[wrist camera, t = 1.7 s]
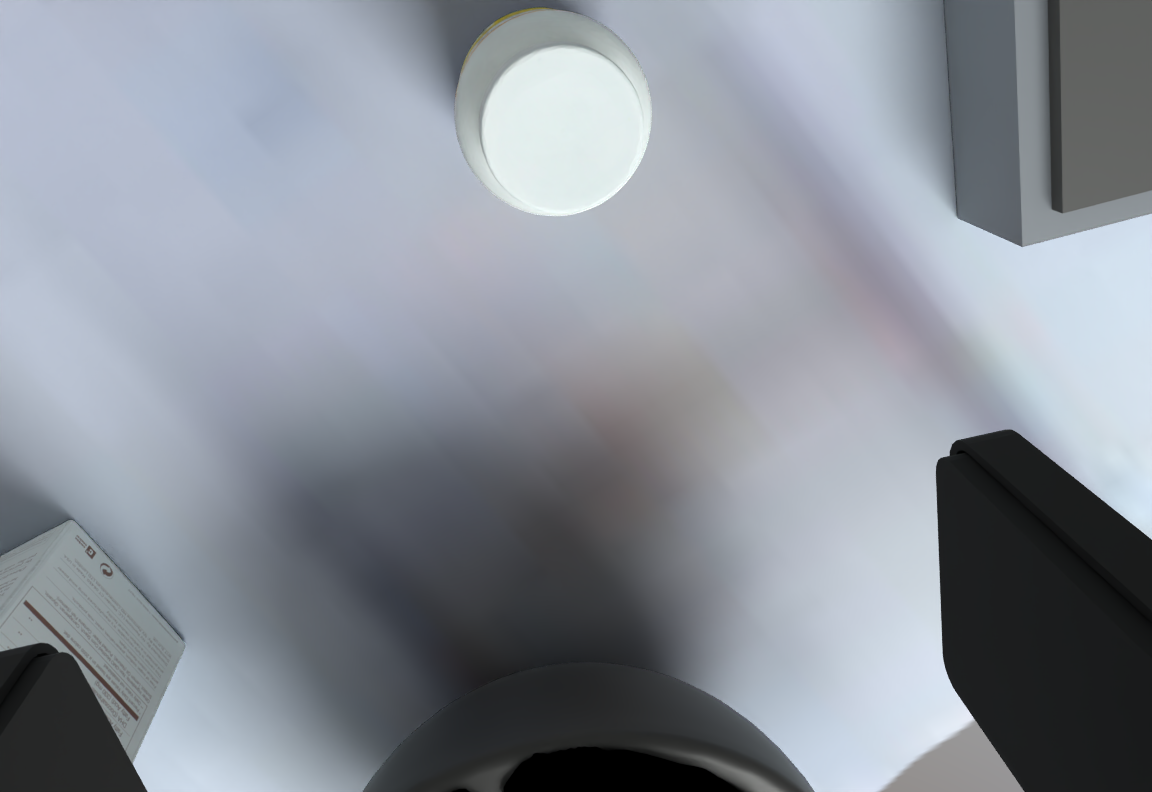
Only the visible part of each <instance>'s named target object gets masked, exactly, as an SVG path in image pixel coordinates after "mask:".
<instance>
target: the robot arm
mask: <svg viewBox="0 0 1152 792" xmlns="http://www.w3.org/2000/svg"><path fill="white" fill-rule="evenodd" d="M936 486H937V513H938V539H939V566H940V593H941V620H942V646H943V660H944V664H945V668H946V671H947V674H948V677H949V679H950V682H951V684H952V686H953V688H954V689H955V691H956V693H957V694H958V696H959V697H960V698H961V700H962V701H963V703H964V704H965V706H966V707H967V709H968V710H969V712H970V713H971V714H972V716H973V717H974V719H975V720H976V722H977V723H978V725H979V726H980V728H981V729H982V730H983V732H984V733H985V735H986V736H987V738H988V739H989V741H990V742H991V744H992V745H993V746H994V748H995V749H996V751H997V752H998V754H999V755H1000V757H1001V758H1002V759H1003V761H1004V762H1005V764H1006V765H1007V767H1008V768H1009V770H1010V771H1011V772H1012V774H1013V775H1014V777H1015V778H1016V780H1017V781H1018V783H1019V784H1020V786H1021V787H1022V788H1023V790H1024V791H1025V792H1152V540H1151V539H1150V538H1149V537H1148V536H1146V535H1145V534H1144V533H1143V532H1141V531H1140V530H1139V529H1138V528H1136V527H1135V526H1134V525H1133V524H1131V523H1130V522H1129V521H1128V520H1126V519H1125V518H1124V517H1123V516H1121V515H1120V514H1119V513H1118V512H1116V511H1115V510H1114V509H1112V508H1111V507H1110V506H1109V505H1107V504H1106V503H1105V502H1104V501H1102V500H1101V499H1100V498H1099V497H1097V496H1096V495H1095V494H1094V493H1092V492H1091V491H1090V490H1089V489H1087V488H1086V487H1085V486H1084V485H1082V484H1081V483H1080V482H1079V481H1077V480H1076V479H1075V478H1074V477H1072V476H1071V475H1070V474H1069V473H1067V472H1066V471H1065V470H1064V469H1062V468H1061V467H1060V466H1059V465H1057V464H1056V463H1055V462H1054V461H1052V460H1051V459H1050V458H1049V457H1047V456H1046V455H1045V454H1044V453H1042V452H1041V451H1040V450H1039V449H1037V448H1036V447H1035V446H1034V445H1032V444H1031V443H1030V442H1029V441H1027V440H1026V439H1025V438H1023V437H1022V436H1021V435H1020V434H1018V433H1017V432H1015V431H1013V430H1002V431H997V432H993V433H988V434H984V435H979V436H975V437H970V438H966V439H961V440H957V441H955V442H954V443H953V444H952V447H951V450H950V456H947V457H943V458H940V459H939V460H938V462H937V466H936ZM0 792H147V790H146V788H145V786H144V785H143V783H142V781H141V779H140V777H139V775H138V774H137V772H136V770H135V768H134V766H133V764H132V762H131V761H130V759H129V757H128V755H127V753H126V751H125V750H124V748H123V746H122V744H121V742H120V740H119V738H118V737H117V735H116V733H115V731H114V729H113V727H112V726H111V724H110V722H109V720H108V718H107V716H106V714H105V713H104V711H103V709H102V707H101V705H100V703H99V702H98V700H97V698H96V696H95V694H94V692H93V690H92V689H91V687H90V685H89V683H88V681H87V679H86V678H85V676H84V674H83V672H82V670H81V668H80V666H79V665H78V663H77V661H76V660H75V659H74V657H73V656H72V655H70V654H69V653H66V652H58V650H57V649H56V648H55V647H53V646H52V645H50V644H48V643H36V644H32V645H27V646H23V647H18V648H14V649H9V650H5V651H0Z"/></svg>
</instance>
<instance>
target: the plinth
mask: <svg viewBox="0 0 1152 792" xmlns="http://www.w3.org/2000/svg"><path fill="white" fill-rule="evenodd" d="M944 10H945V25H946V41H947V57H948V72H949V88H950V104H951V120H952V135H953V151H954V167H955V182H956V198H957V214H958V219H961V220H963V221H965V222H967V223H970V224H972V225H974V226H976V227H979V228H981V229H983V230H985V231H988V232H990V233H992V234H994V235H997V236H999V237H1001V238H1003V239H1006V240H1008V241H1010V242H1012V243H1015V244H1017V245H1019V246H1021V247H1025V246H1028V245H1032V244H1036V243H1040V242H1044V241H1048V240H1051V239H1055V238H1059V237H1063V236H1067V235H1071V234H1074V233H1078V232H1082V231H1086V230H1090V229H1094V228H1098V227H1101V226H1105V225H1109V224H1113V223H1117V222H1121V221H1124V220H1128V219H1132V218H1136V217H1140V216H1144V215H1147V214H1151V213H1152V0H944Z"/></svg>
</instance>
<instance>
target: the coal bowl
mask: <svg viewBox="0 0 1152 792" xmlns="http://www.w3.org/2000/svg"><path fill="white" fill-rule="evenodd" d="M363 792H814V790H813V789H812V787H811V786H810V784H809V783H808V782H807V780H806V779H805V777H804V776H803V775H802V774H801V773H800V771H799V770H798V769H797V768H796V767H795V766H794V764H793V763H792V762H791V761H790V760H789V759H788V757H787V756H786V755H785V754H784V753H783V752H782V751H781V749H780V748H779V747H778V746H776V745H775V744H774V743H773V742H772V741H771V740H770V739H769V738H768V737H767V736H766V735H765V734H764V733H763V732H761V731H760V730H759V729H758V728H757V727H756V726H755V725H754V724H752V723H751V722H750V721H749V720H747V719H746V718H744V717H743V716H742V715H740V714H739V713H737V712H736V711H735V710H733V709H732V708H730V707H729V706H728V705H726V704H725V703H723V702H722V701H720V700H718V699H717V698H715V697H713V696H711V695H709V694H708V693H706V692H704V691H702V690H700V689H698V688H696V687H694V686H692V685H689V684H687V683H685V682H683V681H680V680H678V679H676V678H673V677H670V676H667V675H664V674H661V673H658V672H654V671H649V670H645V669H641V668H637V667H632V666H627V665H620V664H613V663H599V662H573V663H563V664H554V665H548V666H542V667H536V668H532V669H528V670H525V671H521V672H517V673H514V674H511V675H508V676H505V677H502V678H499V679H497V680H495V681H492V682H490V683H488V684H486V685H483V686H481V687H479V688H477V689H475V690H473V691H472V692H470V693H468V694H466V695H464V696H462V697H461V698H459V699H457V700H455V701H454V702H452V703H451V704H449V705H448V706H446V707H445V708H443V709H441V710H440V711H439V712H437V713H436V714H435V715H434V716H432V717H431V718H430V719H429V720H427V721H426V722H425V723H424V724H422V725H421V726H420V727H419V728H418V729H416V730H415V731H414V732H413V733H412V734H411V735H410V736H409V737H408V738H407V739H406V740H405V741H404V742H403V743H402V744H400V745H399V746H398V748H397V749H396V750H395V751H394V752H393V753H392V754H391V756H390V757H389V758H388V759H387V760H386V761H385V763H384V764H383V765H382V766H381V767H380V769H379V770H378V771H377V772H376V773H375V775H374V776H373V777H372V779H371V780H370V782H369V783H368V785H367V786H366V788H365V789H364V791H363Z"/></svg>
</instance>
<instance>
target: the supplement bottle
mask: <svg viewBox="0 0 1152 792" xmlns="http://www.w3.org/2000/svg"><path fill="white" fill-rule="evenodd" d="M454 112H455V127H456V133H457V137H458V141H459V144H460V147H461V150H462V153H463V155H464V157H465V159H466V161H467V163H468V165H469V167H470V168H471V170H472V172H473V173H474V174H475V176H476V177H477V178H478V180H479V181H480V182H481V183H482V184H483V185H484V186H485V187H486V188H487V189H488V190H489V191H490V192H491V193H492V194H493V195H495V196H496V197H497V198H499V199H500V200H502V201H503V202H505V203H507V204H509V205H510V206H512V207H515V208H517V209H519V210H522V211H525V212H528V213H532V214H537V215H543V216H565V215H571V214H576V213H580V212H583V211H586V210H589V209H591V208H593V207H595V206H598V205H600V204H602V203H603V202H605V201H606V200H607V199H609V198H610V197H612V196H613V195H614V194H615V193H616V192H618V191H619V190H620V189H621V188H622V187H623V186H624V185H625V184H626V183H627V181H628V180H629V179H630V178H631V176H632V175H633V173H634V172H635V170H636V168H637V167H638V165H639V163H640V162H641V159H642V157H643V155H644V152H645V150H646V147H647V144H648V140H649V135H650V130H651V120H652V107H651V97H650V92H649V87H648V84H647V81H646V78H645V75H644V73H643V70H642V68H641V66H640V64H639V62H638V60H637V59H636V57H635V56H634V54H633V53H632V51H631V50H630V49H629V47H628V46H627V45H626V44H625V43H624V42H623V41H622V40H621V39H620V38H619V37H618V36H617V35H616V34H615V33H614V32H613V31H611V30H610V29H609V28H607V27H606V26H604V25H602V24H601V23H599V22H597V21H595V20H594V19H591V18H589V17H586V16H584V15H581V14H578V13H574V12H570V11H564V10H556V9H551V8H542V7H537V8H528V9H523V10H518V11H515V12H512V13H510V14H508V15H505V16H503V17H502V18H500V19H498V20H497V21H495V22H494V23H492V24H491V25H490V26H488V27H487V28H486V29H485V30H484V31H483V32H482V33H481V34H480V35H479V36H478V38H477V39H476V40H475V42H474V43H473V45H472V46H471V48H470V50H469V52H468V54H467V56H466V58H465V60H464V63H463V66H462V69H461V72H460V77H459V81H458V86H457V90H456V96H455V108H454Z"/></svg>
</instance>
